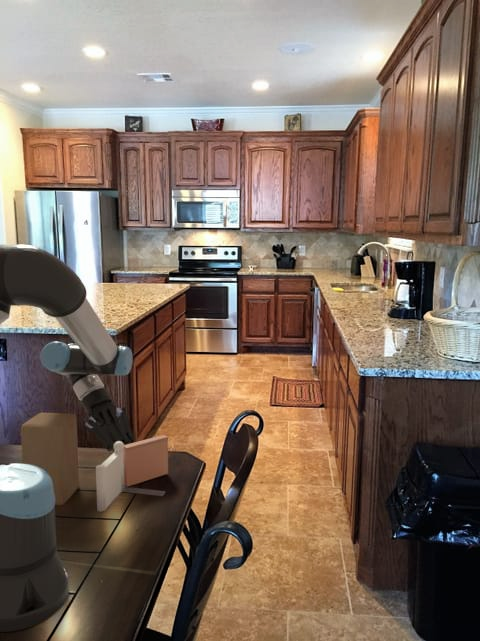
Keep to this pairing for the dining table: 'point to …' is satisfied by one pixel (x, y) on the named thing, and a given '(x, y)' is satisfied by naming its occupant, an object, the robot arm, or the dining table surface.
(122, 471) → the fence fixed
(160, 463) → the terracotta rectangular slab
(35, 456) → the wooden block
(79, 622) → the dining table surface
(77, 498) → the dining table surface
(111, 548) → the dining table surface
